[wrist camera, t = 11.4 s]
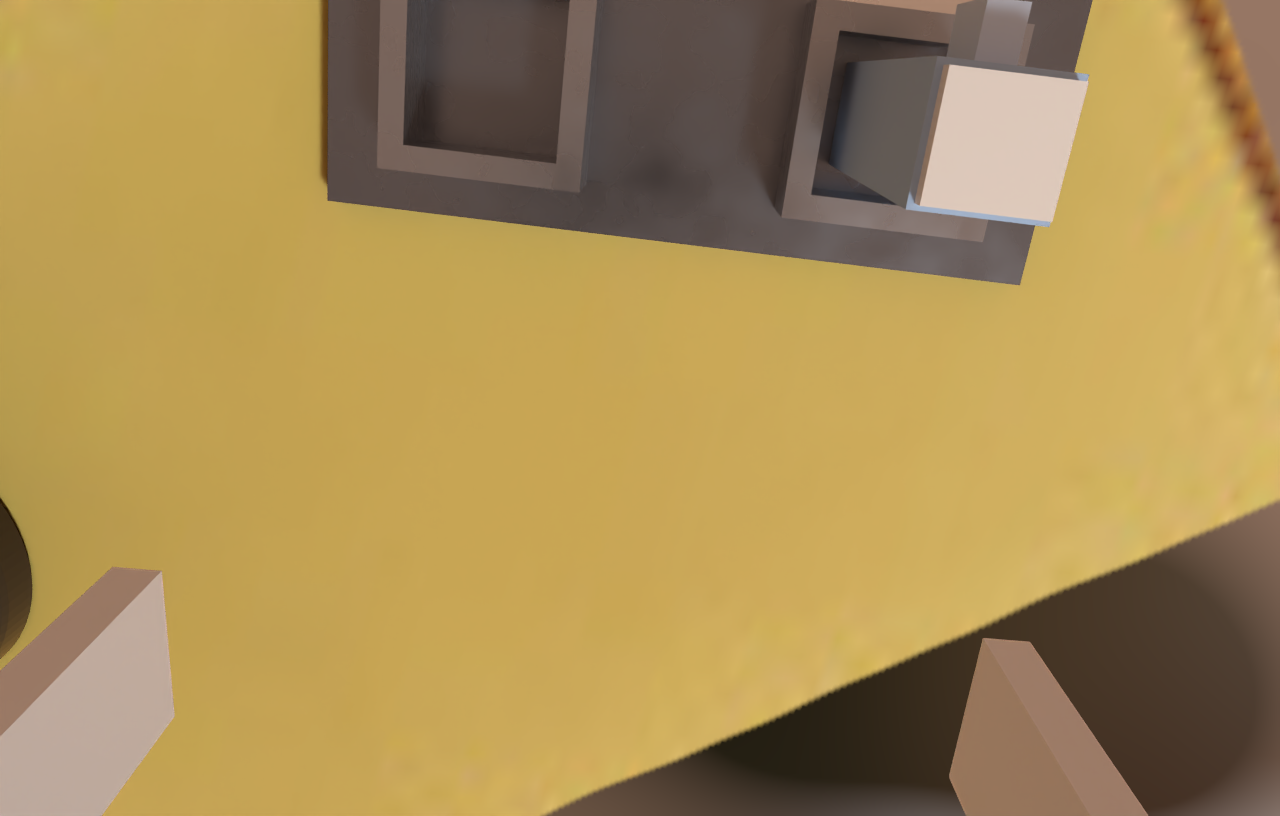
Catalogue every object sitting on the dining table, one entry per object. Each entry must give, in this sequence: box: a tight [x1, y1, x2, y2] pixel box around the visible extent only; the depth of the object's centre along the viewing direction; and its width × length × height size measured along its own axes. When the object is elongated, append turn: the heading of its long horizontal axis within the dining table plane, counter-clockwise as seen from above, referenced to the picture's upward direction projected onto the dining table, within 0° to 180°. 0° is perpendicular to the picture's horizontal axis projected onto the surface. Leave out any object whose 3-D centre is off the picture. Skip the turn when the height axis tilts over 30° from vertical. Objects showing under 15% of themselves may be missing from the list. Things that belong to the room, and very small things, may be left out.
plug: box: [829, 0, 1089, 227], centre depth 31 cm, size 4×6×15 cm
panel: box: [328, 0, 1092, 285], centre depth 38 cm, size 30×12×4 cm, turn 83°
